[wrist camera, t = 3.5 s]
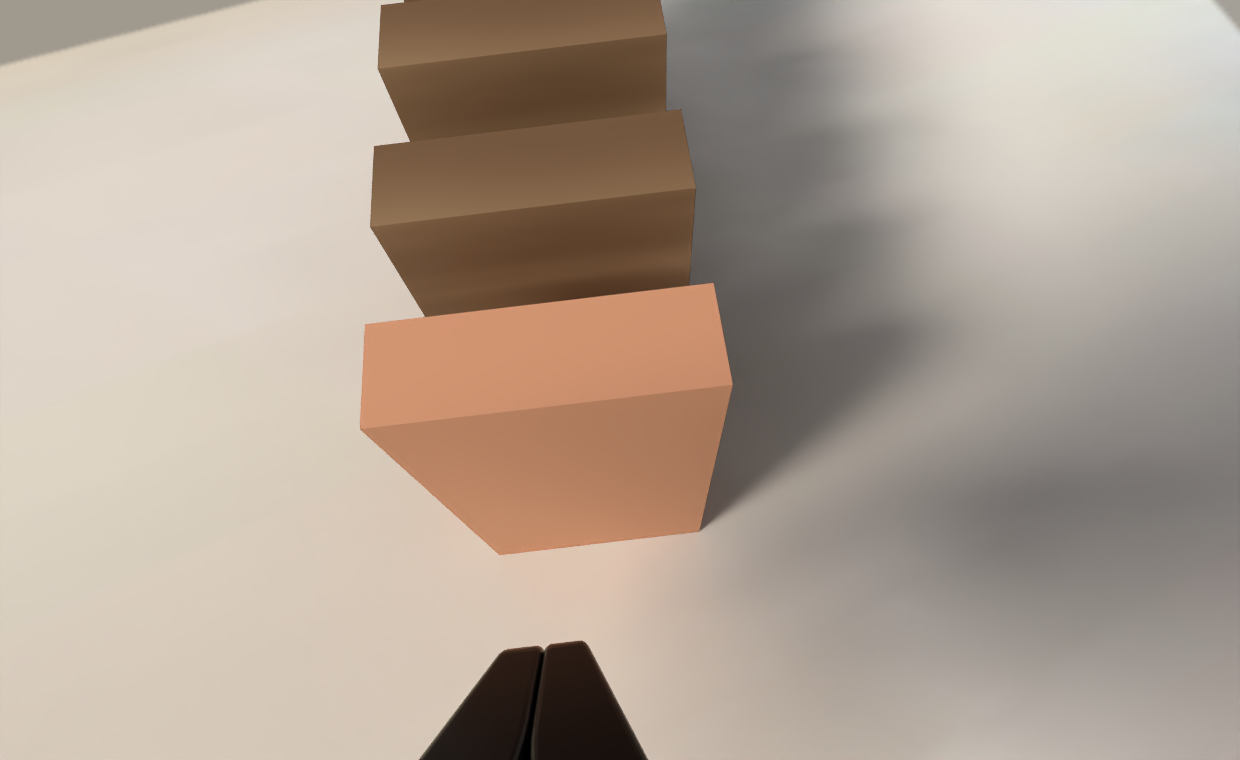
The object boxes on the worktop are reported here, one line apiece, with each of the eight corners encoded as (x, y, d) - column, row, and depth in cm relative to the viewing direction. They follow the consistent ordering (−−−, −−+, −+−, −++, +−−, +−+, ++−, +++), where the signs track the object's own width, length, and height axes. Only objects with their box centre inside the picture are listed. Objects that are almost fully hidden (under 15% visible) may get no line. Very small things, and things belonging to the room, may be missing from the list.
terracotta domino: (699, 531, 18) (733, 384, 9) (499, 554, 18) (360, 428, 9) (689, 469, 18) (713, 282, 10) (497, 492, 18) (364, 323, 10)
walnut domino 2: (680, 408, 19) (695, 187, 11) (494, 430, 19) (370, 226, 11) (671, 355, 20) (681, 109, 11) (493, 376, 20) (374, 145, 11)
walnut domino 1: (664, 302, 20) (666, 33, 12) (491, 323, 20) (377, 68, 12) (657, 256, 21) (654, -29, 13) (489, 276, 21) (381, 5, 13)
